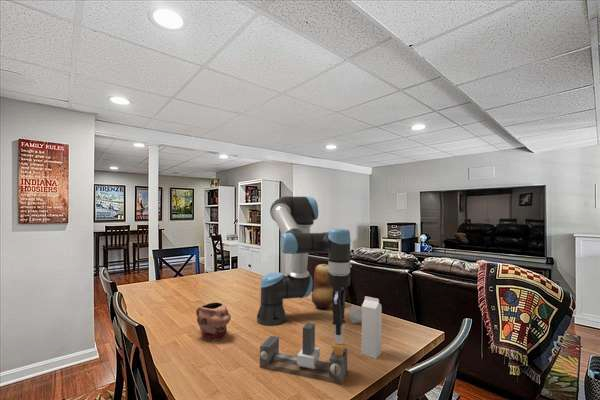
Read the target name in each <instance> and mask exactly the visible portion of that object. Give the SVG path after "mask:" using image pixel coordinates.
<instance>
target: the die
mask: <svg viewBox="0 0 600 400" xmlns="http://www.w3.org/2000/svg"><path fill="white" fill-rule="evenodd" d="M348 317H349V319H350V322H351V323H352V324H362V305H361V306H360V305H359V306H357V305H352V306H351V307H350V309H349V311H348Z"/></svg>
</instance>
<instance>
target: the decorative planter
mask: <svg viewBox="0 0 600 400" xmlns="http://www.w3.org/2000/svg"><path fill="white" fill-rule="evenodd" d="M195 313H196V317H197V318H196V321H197V324H198V326H199V329H200V333H201V336H202V338H203V339H205V340H207V341H218V340H221V339H223V338H225V337H226V335H227V331H228V330H227V325H228V324H229V322H230V321H231V318H232V316H231V314H230V313H229V310H228V308H227V305H226V304H223V303H221V302H210V303H205V304H203V305H200V306H198V307H197V308H196V310H195Z"/></svg>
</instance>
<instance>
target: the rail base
mask: <svg viewBox="0 0 600 400" xmlns="http://www.w3.org/2000/svg"><path fill="white" fill-rule="evenodd" d="M279 345H280V337H279V336H274V335H269V337H268V338H267V339H265V340H264V342H262V344H261V345H259V368H262V369H267V370H272V371H277V372H282V373H286V374H290V375H291V374H292V375H296V376H300V377H305V378H310V379H315V380H319V381H325V382H328V383H332V384H333V383H334V384H338V383H339V384H338V385H342V384H344V382H345V379H346V376H347V372H348V348H346V347H345V348H344V354H343V357H342V356H336V355H334V349H332V352H331V354H330V357H328V358H329V360H328V361H329V362H328V361H324V360H319V361H317V362H316V368H315V369H311V368H306V367H301V366H298V364H297V355H292V354H288V353H287V354H286V353H280V347H279Z"/></svg>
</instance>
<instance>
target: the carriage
mask: <svg viewBox="0 0 600 400" xmlns="http://www.w3.org/2000/svg"><path fill="white" fill-rule="evenodd" d="M320 353H321V348H320V347H316V324H315V323H312V322H306V323H305V325H304V326H303V327H302V348H301V349H300V351H299V352H298V353H297V355H296V356H297V364H298V366H301V367H306V368H311V369H315V368H316V362H317V361H320V359H319V358H320V356H321V354H320Z"/></svg>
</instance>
